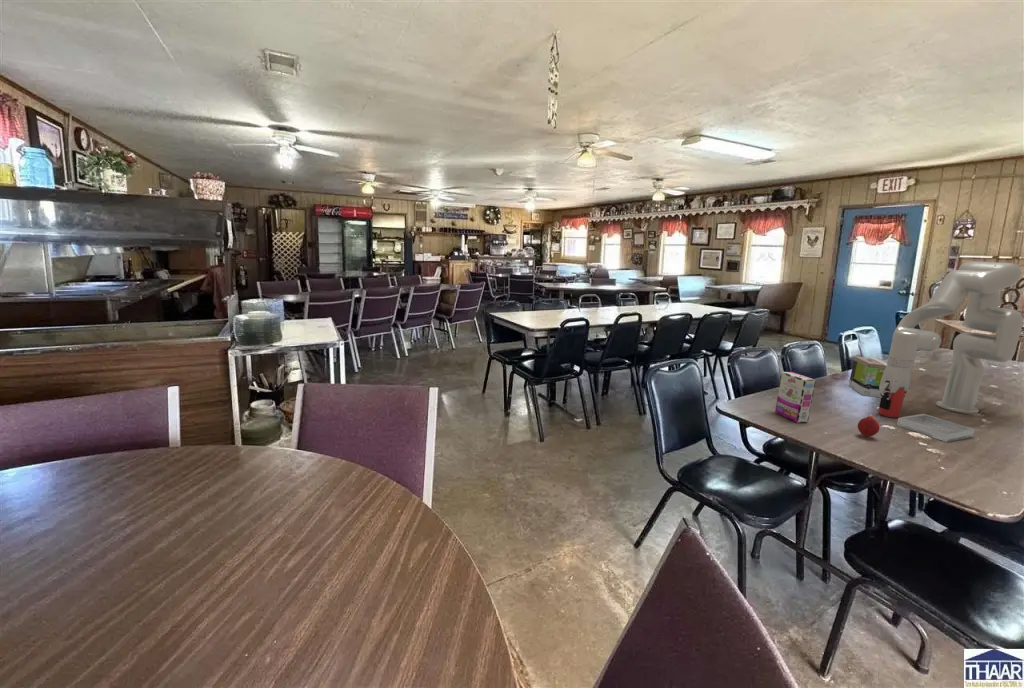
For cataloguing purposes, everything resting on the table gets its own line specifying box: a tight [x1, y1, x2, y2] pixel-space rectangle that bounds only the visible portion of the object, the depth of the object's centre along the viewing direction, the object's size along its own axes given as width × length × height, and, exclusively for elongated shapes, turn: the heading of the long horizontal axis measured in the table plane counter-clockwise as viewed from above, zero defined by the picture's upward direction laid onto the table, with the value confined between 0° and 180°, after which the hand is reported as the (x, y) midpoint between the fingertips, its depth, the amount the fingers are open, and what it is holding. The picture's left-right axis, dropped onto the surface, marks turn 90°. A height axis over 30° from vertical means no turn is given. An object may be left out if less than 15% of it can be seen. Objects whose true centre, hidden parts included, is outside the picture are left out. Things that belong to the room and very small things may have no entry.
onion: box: [857, 414, 880, 438], centre depth 155 cm, size 6×6×8 cm
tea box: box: [848, 356, 888, 398], centre depth 206 cm, size 15×10×15 cm
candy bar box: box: [774, 371, 817, 424], centre depth 170 cm, size 11×5×16 cm, turn 12°
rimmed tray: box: [896, 413, 975, 443], centre depth 163 cm, size 15×15×3 cm
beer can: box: [877, 387, 906, 419], centre depth 177 cm, size 7×7×12 cm
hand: (890, 407), depth 177 cm, fingers closed on beer can, 6 cm apart
